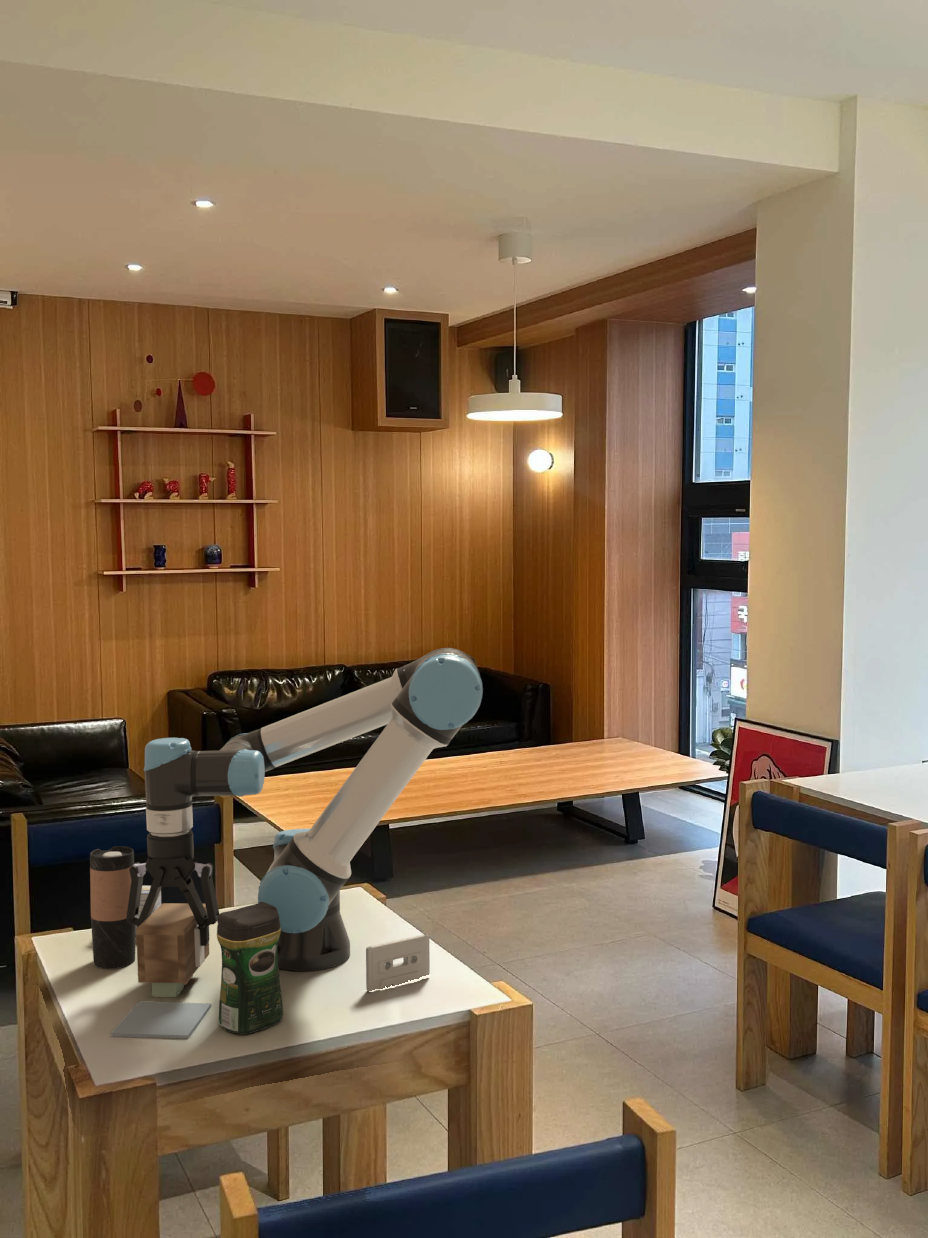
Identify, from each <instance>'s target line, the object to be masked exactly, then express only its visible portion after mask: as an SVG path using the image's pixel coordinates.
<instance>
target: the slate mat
mask: <svg viewBox="0 0 928 1238" xmlns="http://www.w3.org/2000/svg"><path fill="white" fill-rule="evenodd" d="M211 1008H212V1003H211V1002H209V1003H208V1002H181V1001H180V1002H179V1001H177V1002H175V1001H148V1000H147V1001H144V1000H143V1001H141V1000H140V1001H138V1002H137V1003H136V1004H135V1005H134V1006H133V1007H132V1008H131V1010H130V1011H129V1012H128V1013H127V1015H126V1016H125V1017H123V1019H122V1020H121V1021H120V1022H119V1023H118V1024H117V1025H116V1026H115V1028H114V1029H113V1030H112V1031H111V1033H110V1036H111V1037H121V1038H122V1037H123V1038H124V1037H125V1038H130V1037H131V1038H150V1039H151V1038H152V1039H153V1038H154V1039H155V1038H157V1039H158V1038H159V1039H186V1040H187V1039H188V1040H189V1038H190V1037H191V1036H192V1034H193V1033H195V1030H196V1029H197V1027H198V1026H199V1024H200V1023H201V1022H202V1020H203V1019H204V1018H205V1016H206V1015H207V1014H208V1012H209V1011H210V1009H211Z"/></svg>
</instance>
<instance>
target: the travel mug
mask: <svg viewBox="0 0 928 1238" xmlns="http://www.w3.org/2000/svg"><path fill="white" fill-rule="evenodd" d="M134 864H135V852H134V849H133V848H131V847H129V846H120V845H119V846H118V845H117V846H115V845H114V846H112V847H111V848H110V849H108V850H101V849H99V848H97V849H93V850H92V851H91V852H90V853H89V866H90V867H89V875H90V876H89V877H90V878H89V882H90V883H89V884H90V885H89V886H90V921H91V922H90V924H91V941H92V955H93V957H92V959H93V965H94V967H96V968H99V969H103V970H107V969H108V970H114V969H121V968H125V967H128V966H130V965H132V964H133V963H134V962H135V961H136V942H137V938H136V925H135V924H132V923H131V924H128V923H127V922H126V917H127V910H128V902H129V895H130V888H131V876H130V871H129V869H130V867H132V866H133V865H134ZM131 963H132V964H131ZM127 965H128V966H127ZM124 966H125V967H124ZM120 967H121V968H120Z"/></svg>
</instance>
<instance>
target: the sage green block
mask: <svg viewBox="0 0 928 1238" xmlns="http://www.w3.org/2000/svg"><path fill="white" fill-rule="evenodd" d="M184 987H185V985H184V983H151V996H152V997H158V998H160V997H161V998H162V997H163V998H165V997H166V998H168V997H169V998H177V996H178V995H179V994H180V993H181V991H182V990H183V989H184Z"/></svg>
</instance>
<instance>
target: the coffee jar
mask: <svg viewBox="0 0 928 1238" xmlns="http://www.w3.org/2000/svg"><path fill="white" fill-rule="evenodd" d="M219 914H220V915H219V916H218V921H217V922H216V923H217V925H216V926H217V927H216V939H217V942H218V944H219V947H220V950H221V977H220V992H219V1005H218V1006H219V1007H218V1008H219V1009H218V1022H219V1025H220V1026H221V1027H222V1029H224V1030H225V1031H227V1032H229V1033H231V1034H240V1035H247V1034H251V1033H255V1032H258V1031H261V1030H264V1029H266V1028H269V1027H271V1026H274V1025H276V1024H278V1023H279V1022H281V1021H282V1020H283V1018H284V1005H283V995H282V987H281V981H280V971H279V969H280V968H278V957H277V947H278V940H279V936H280V932H281V926H280V920H279V913H278V911H277V908H276V907H274V906H272V905H270V904H267V903H265V902H260V903H258V902H257V903H254V904H251V905H247V906H244V907H240V908H236V909H233V910H229V911H224V912H223V911H222V912H221V913H220V912H219Z"/></svg>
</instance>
